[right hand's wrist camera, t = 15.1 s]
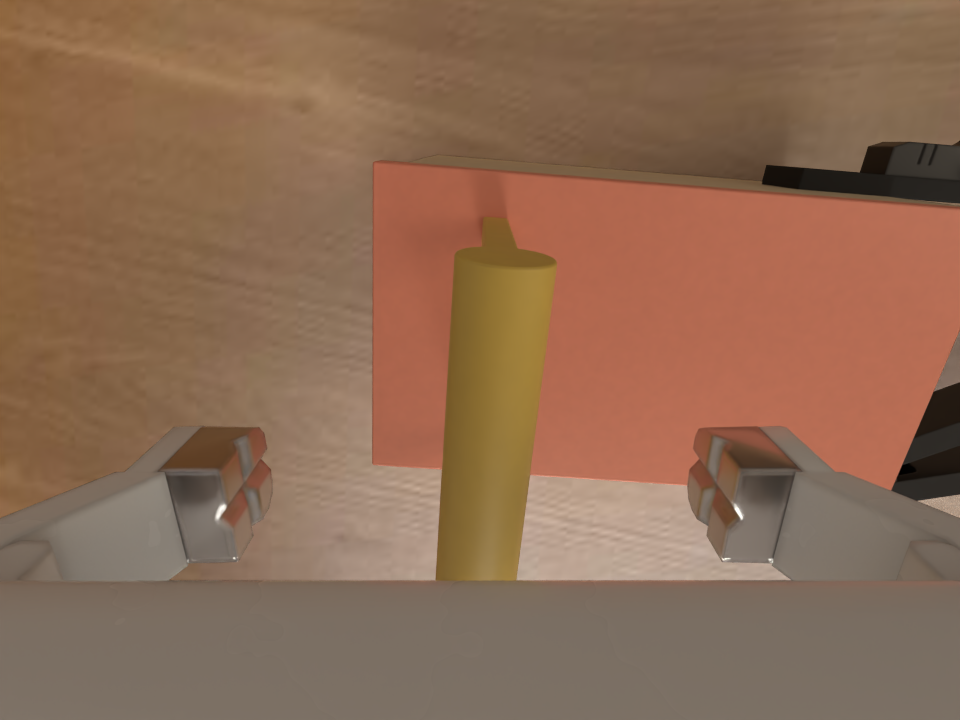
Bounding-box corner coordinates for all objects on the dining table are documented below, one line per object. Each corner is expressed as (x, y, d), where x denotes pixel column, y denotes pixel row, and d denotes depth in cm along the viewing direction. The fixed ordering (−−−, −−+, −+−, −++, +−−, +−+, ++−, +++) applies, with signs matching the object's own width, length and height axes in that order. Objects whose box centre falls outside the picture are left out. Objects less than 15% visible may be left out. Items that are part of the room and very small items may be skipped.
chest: (427, 342, 30) (398, 448, 19) (434, 154, 26) (404, 162, 16) (733, 364, 30) (865, 479, 20) (782, 182, 26) (975, 207, 16)
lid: (378, 447, 19) (308, 655, 11) (380, 160, 16) (279, 176, 8) (866, 480, 20) (1119, 701, 12) (976, 207, 16) (1440, 268, 8)
